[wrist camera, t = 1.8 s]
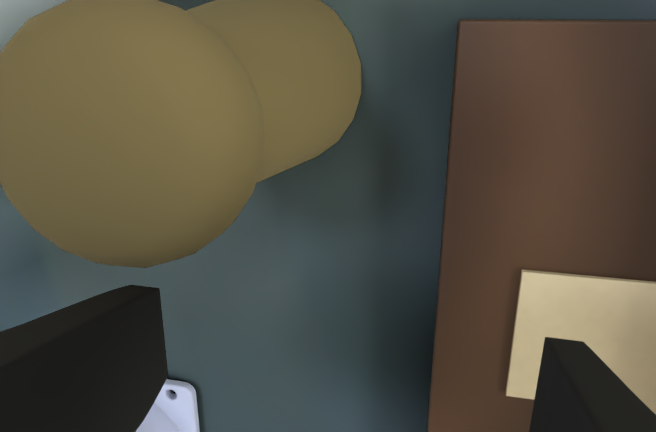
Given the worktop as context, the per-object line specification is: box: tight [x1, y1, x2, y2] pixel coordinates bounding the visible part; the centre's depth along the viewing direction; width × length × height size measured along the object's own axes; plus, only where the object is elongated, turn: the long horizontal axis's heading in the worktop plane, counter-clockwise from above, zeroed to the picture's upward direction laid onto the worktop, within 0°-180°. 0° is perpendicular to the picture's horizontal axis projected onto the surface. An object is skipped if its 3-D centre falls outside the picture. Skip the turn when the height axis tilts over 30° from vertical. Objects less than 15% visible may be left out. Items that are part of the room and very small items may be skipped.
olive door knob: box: [0, 0, 361, 268], centre depth 15 cm, size 6×6×11 cm
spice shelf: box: [427, 19, 656, 432], centre depth 18 cm, size 10×18×4 cm, turn 0°
